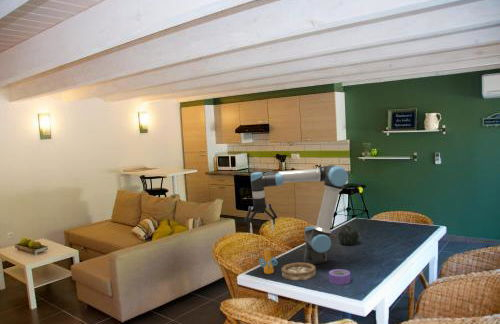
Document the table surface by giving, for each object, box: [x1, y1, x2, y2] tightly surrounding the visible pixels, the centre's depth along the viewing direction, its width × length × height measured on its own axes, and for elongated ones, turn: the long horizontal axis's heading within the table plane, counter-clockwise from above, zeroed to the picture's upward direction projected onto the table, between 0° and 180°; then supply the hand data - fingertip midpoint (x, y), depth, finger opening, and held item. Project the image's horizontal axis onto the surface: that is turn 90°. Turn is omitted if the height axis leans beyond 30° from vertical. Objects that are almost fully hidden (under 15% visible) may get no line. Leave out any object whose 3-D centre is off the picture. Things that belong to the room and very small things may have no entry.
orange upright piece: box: [258, 247, 278, 275], centre depth 258 cm, size 12×10×15 cm
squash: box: [337, 224, 360, 246], centre depth 307 cm, size 14×15×15 cm
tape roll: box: [328, 268, 351, 286], centre depth 236 cm, size 12×12×5 cm
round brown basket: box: [281, 262, 317, 281], centre depth 251 cm, size 20×20×4 cm
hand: (262, 231), depth 257 cm, fingers open, 13 cm apart
